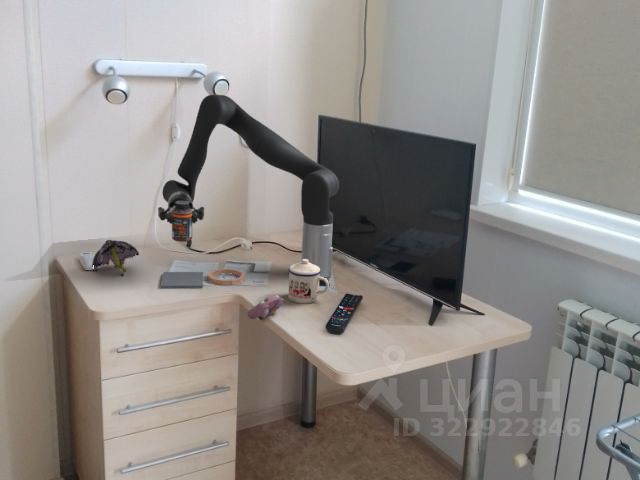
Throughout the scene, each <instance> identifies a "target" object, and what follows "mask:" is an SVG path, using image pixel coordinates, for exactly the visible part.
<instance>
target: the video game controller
mask: <svg viewBox="0 0 640 480" xmlns="http://www.w3.org/2000/svg"><path fill="white" fill-rule="evenodd" d="M284 303H285V299H284V298H283V297H281V296H279V295H278V294H276V295H268V296H266V297H265V298H264V299H263V300H261V301H260V302H258V303H257V304H256V305H255V306H254V307H252V308H250V309H249V310H248V311H247V314H246V315H247V318H249V319H256V318H258V317H261V318H262V319H265V318H266V317H268V316H269V315H270V316H272V315H274V314H276V312H277V310H279V309H280V308H281V307H282V306H283V305H284Z"/></svg>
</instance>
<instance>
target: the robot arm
mask: <svg viewBox="0 0 640 480" xmlns="http://www.w3.org/2000/svg"><path fill="white" fill-rule="evenodd" d="M218 125H223V126H225V127H227V128H229V129H230V130H232V131H233V132H235V133H236V134H237V135H239V136H240V138H241V139H242V140H243V141H244V143H245V144H246V145H247V147H248V149H249V150H250V151H251V152H252V153H253V154H254V155H256V156H257V157H258V158H260V159H261V160H262V161H264V162H265V163H266V164H268V165H270V166H271V167H273V168H276V169H279V170H281V171H284V172H287V173H289V174H290V175H293V176H296V177H297V178H298V179H300V180H302V184H301V192H300V193H301V194H300V196H301V197H300V199H301V200H300V201H301V204H300V205H301V206H300V208H301V215H302V216H303V218H302V219H303V221H302V237H301V238H302V239H301V240H302V242H301V243H302V244H301V259H300V260H301V261H300V262H302V259H307V260H308V261H309V263H311V264H313V265H316V266H318V267H319V268H320V271H321V272H320V276H319V277H326V278H331V277H332V272H333V271H332V269H333V268H332V267H333V251H334V249H333V248H334V247H333V246H332V243H333V225H334V224H333V223H334V213H333V212H331V211H330V198H333V197H334V196H335V195H337V193H338V191H339V190H340V181H339V179H338V177H337V175H336V174H335V173H334V172H333V171H332V170H331V169H329V168H327V167H326V166H324V165H322V164H320V163H318V162H316V161H315V160H313V159H311V158H310V157H308V156H307V155H306V154H304V153H303V152H301V150H300V149H298V148H296V147H295V146H294V145H292V144H291V142H290V143H289V142H288V141H287V140H286V139H285V138H283V137H282V136H281V135H280V134H278V133H276V132H275V131H274V130H272V129H271V128H269V127H267V126H266V125H265V124H264V123H262V122H260V121H259V120H257V119H256V118H254V117H253V116H251V114H249V113H247V112H246V111H245V110H244V109H243V108H242V107H241V105H239V104H238V103H237V102H236V101H235V100H234V99H232V98H231V97H229V96H227V95H224V94H208V95H206V96H205V97H203V99H202V101H201V102H200V105H199V108H198V112H197V116H196V118H195V123H194V126H193V130H192V133H191V137H190V139H189V143H188V146H187V148H186V150H185V153H184V154H183V157H182V159H181V162H180V163H179V167H178V169H177V171H176V172H177V175H178V176H179V177H180V178H182V179H183V180H184V181H185V182H186V183H187V184H188V185H187V184H186V183H185V184H184V183H182V182H180V181H177V180H174V179H171V180H170V179H169V180H168V181H166V182H165V183H164V185H163V187H162V191H161V192H162V197H163V200H164V201H166V203H167V208H166V209H165V208H163V207H161V206H160V207H157V213H158V214H157V215H158V218H159V219H160V221H165V220H166V222H167V223H169V224H170V225H172V210H173V209H175V202H176V201H188V202H189V208H190V209H191V210H192V224H196V223H197V222H198V220H199V221H203V220H204V218H205V207H204V206H200V207H198V209H196V207H194V203H193V202H194V199H195V197H196V196H195V195H196V186H197V182H198V179H199V177H200V174H201V171H202V170H203V168H204V166H205V163H206V160H207V155H208V146H209V140H210V137H211V135H212V133H213V131H214V129H215V128H216V126H218Z"/></svg>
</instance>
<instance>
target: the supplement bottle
mask: <svg viewBox="0 0 640 480" xmlns="http://www.w3.org/2000/svg"><path fill="white" fill-rule="evenodd" d="M171 238H172V240H173V241H175V242H179V243H180V242H181V243H182V242H185V243H186V242H190V241H192V240H193V222H192V210H191V209H190V208H189V202H188V201H176V202H175V209H173V210H172V224H171Z"/></svg>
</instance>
